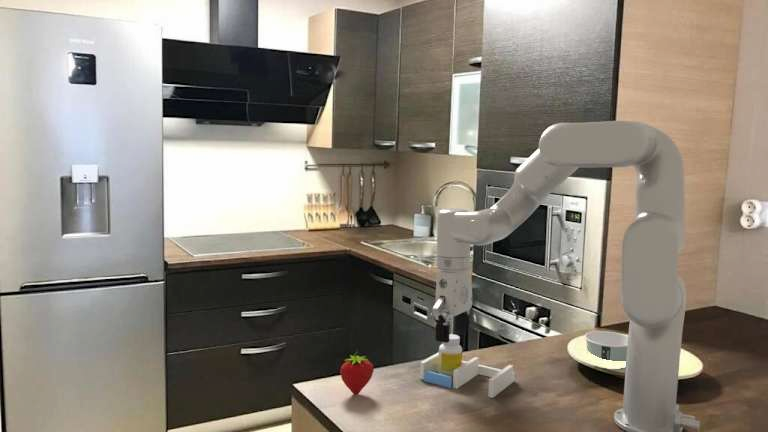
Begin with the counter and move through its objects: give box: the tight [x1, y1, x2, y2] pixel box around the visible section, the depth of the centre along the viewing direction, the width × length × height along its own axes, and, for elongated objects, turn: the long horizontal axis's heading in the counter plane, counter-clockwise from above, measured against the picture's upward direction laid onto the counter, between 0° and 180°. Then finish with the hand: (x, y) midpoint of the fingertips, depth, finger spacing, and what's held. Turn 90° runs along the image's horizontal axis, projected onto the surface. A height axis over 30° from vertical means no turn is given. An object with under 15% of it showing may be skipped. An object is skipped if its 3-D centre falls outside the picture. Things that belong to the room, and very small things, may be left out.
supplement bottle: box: [437, 333, 463, 382], centre depth 150 cm, size 5×5×10 cm
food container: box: [583, 330, 628, 361], centre depth 162 cm, size 12×12×6 cm
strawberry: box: [339, 350, 375, 395], centre depth 139 cm, size 6×8×10 cm
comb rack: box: [419, 351, 516, 399], centre depth 148 cm, size 18×13×4 cm
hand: (452, 336), depth 149 cm, fingers open, 9 cm apart
